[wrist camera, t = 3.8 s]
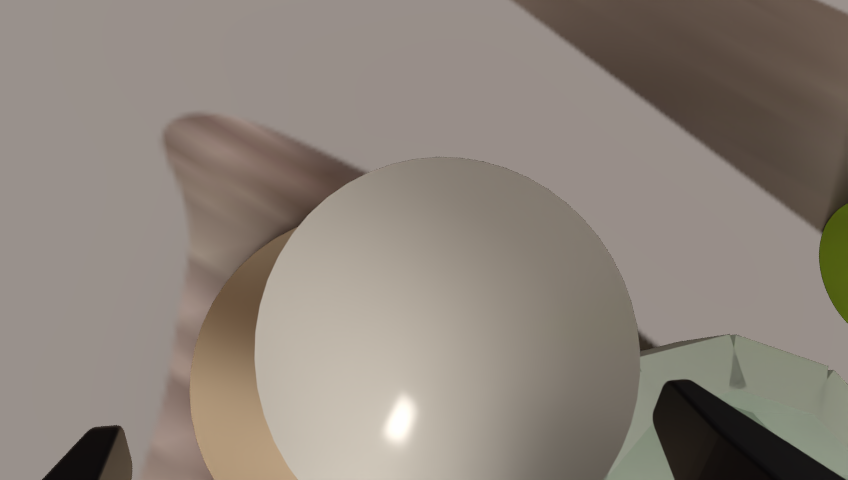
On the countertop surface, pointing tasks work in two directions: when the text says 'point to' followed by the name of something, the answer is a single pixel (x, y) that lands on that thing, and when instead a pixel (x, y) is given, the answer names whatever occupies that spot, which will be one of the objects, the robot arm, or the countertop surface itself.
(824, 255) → the soap dispenser
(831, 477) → the robot arm
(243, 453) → the cork mat
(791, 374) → the bowl
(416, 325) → the white dome-topped cylinder
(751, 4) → the countertop surface
